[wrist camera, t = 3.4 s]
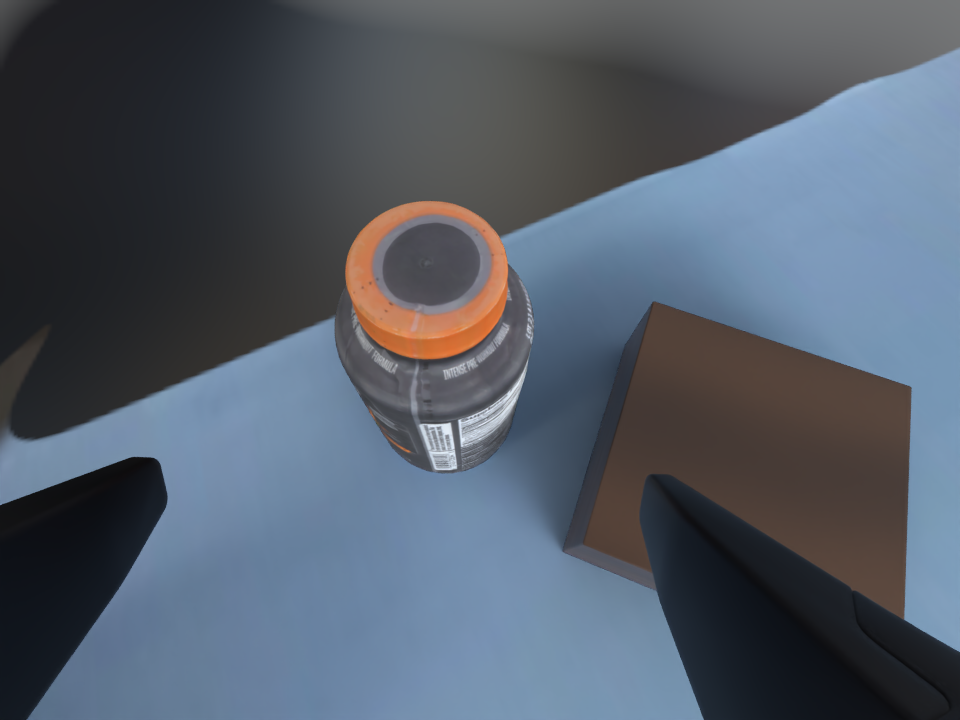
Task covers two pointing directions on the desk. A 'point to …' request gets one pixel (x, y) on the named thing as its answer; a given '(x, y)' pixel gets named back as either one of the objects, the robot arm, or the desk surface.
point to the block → (752, 451)
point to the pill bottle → (435, 333)
